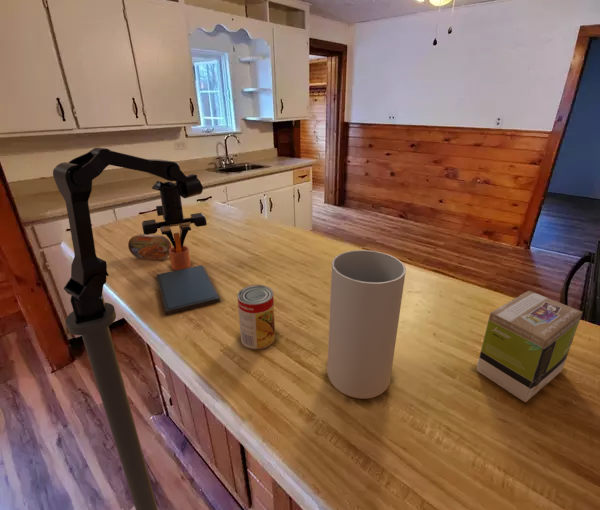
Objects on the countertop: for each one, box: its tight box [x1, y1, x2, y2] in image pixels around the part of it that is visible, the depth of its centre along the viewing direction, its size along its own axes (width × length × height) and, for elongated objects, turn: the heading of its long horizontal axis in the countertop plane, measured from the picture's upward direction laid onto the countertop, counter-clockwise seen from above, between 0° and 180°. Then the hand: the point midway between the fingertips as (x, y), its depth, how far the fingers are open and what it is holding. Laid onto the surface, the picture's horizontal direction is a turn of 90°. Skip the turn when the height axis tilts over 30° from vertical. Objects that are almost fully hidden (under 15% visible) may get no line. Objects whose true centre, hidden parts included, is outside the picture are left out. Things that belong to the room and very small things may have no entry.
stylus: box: [172, 232, 182, 253], centre depth 109 cm, size 2×2×11 cm
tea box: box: [476, 290, 584, 403], centre depth 66 cm, size 15×10×15 cm
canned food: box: [236, 284, 276, 350], centre depth 76 cm, size 8×8×12 cm
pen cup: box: [169, 245, 192, 271], centre depth 111 cm, size 6×6×6 cm
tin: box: [127, 233, 173, 261], centre depth 116 cm, size 15×3×8 cm, turn 81°
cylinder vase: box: [326, 249, 407, 400], centre depth 63 cm, size 12×12×25 cm
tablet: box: [156, 264, 221, 316], centre depth 98 cm, size 14×22×1 cm, turn 27°
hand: (178, 247), depth 109 cm, fingers closed on stylus, 2 cm apart
